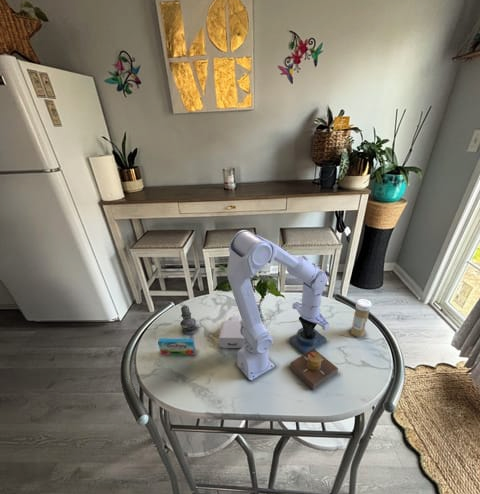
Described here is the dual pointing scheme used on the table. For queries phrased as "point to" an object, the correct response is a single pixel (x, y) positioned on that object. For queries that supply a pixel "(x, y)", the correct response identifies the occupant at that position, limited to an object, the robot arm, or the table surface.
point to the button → (308, 336)
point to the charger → (231, 333)
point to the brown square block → (313, 376)
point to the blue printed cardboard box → (177, 346)
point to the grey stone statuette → (187, 321)
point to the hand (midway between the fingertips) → (308, 334)
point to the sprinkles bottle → (360, 317)
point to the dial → (314, 361)
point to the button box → (306, 341)
